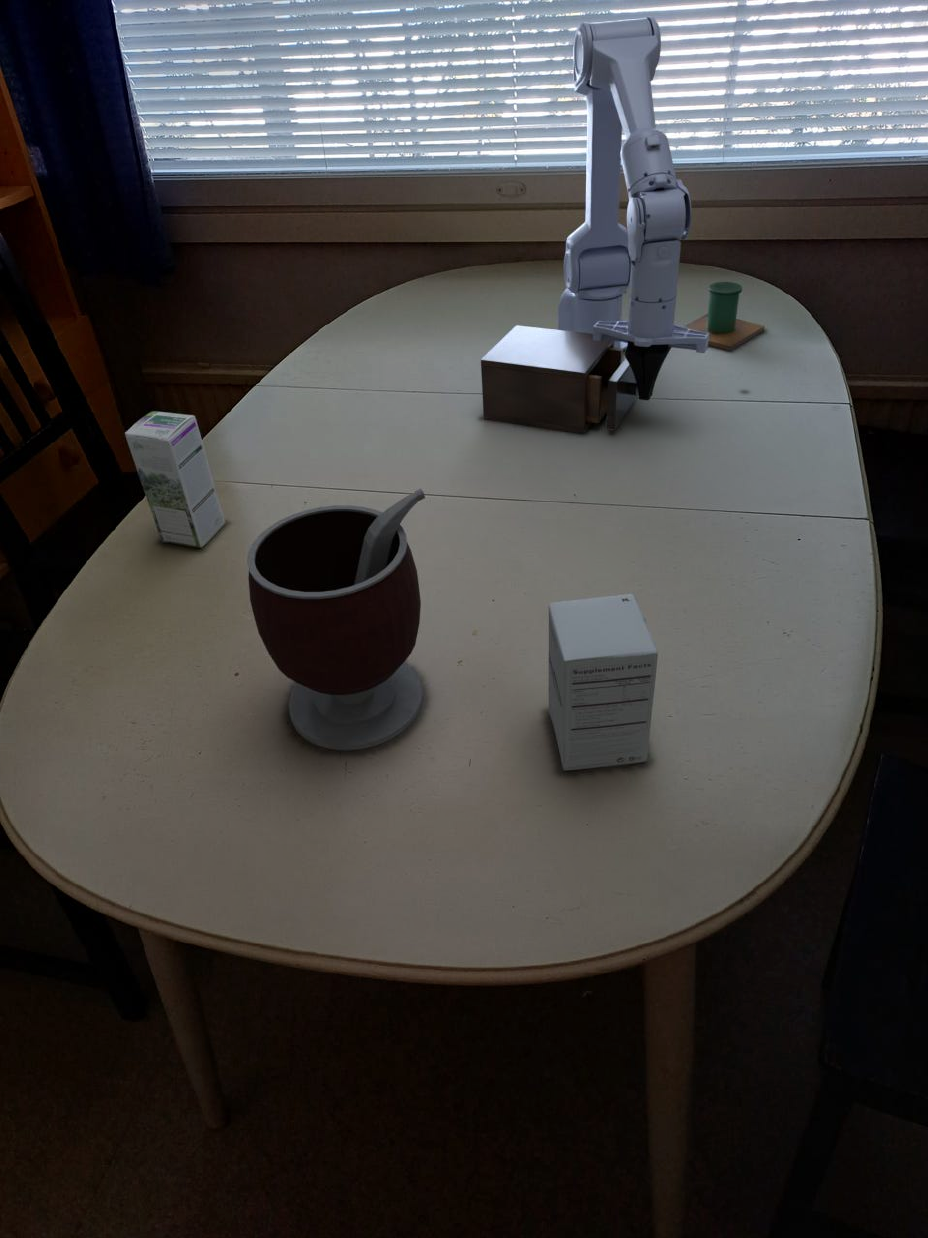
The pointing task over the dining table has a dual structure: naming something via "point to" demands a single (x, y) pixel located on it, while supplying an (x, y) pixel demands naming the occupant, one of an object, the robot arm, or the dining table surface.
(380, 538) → the mate gourd
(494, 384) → the small wooden cabinet
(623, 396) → the drawer
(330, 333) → the dining table surface
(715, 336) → the board
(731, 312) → the green pot
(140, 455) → the syrup box
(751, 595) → the dining table surface
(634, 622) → the white packaging box
